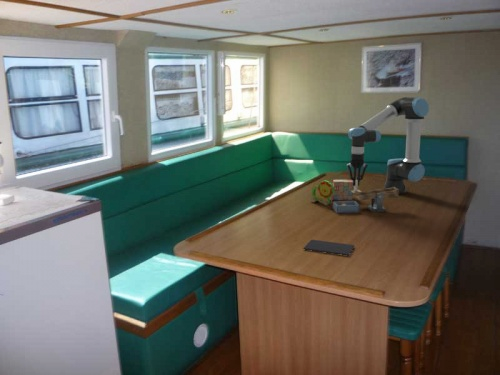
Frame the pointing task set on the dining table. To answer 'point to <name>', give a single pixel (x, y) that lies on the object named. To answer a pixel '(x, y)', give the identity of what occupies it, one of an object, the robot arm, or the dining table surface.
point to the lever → (366, 195)
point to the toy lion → (323, 192)
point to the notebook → (329, 247)
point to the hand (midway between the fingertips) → (355, 190)
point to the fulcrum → (377, 203)
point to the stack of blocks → (342, 190)
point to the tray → (346, 207)
